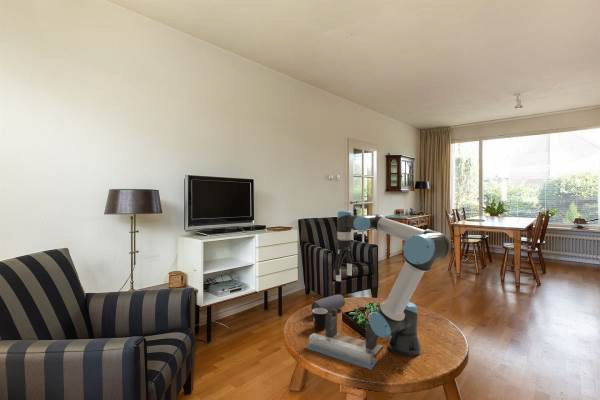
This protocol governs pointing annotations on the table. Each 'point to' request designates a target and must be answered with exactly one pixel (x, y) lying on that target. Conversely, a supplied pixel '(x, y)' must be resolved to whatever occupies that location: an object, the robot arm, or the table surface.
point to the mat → (342, 357)
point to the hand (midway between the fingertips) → (344, 278)
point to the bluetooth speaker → (329, 303)
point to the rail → (342, 348)
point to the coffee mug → (319, 319)
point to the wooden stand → (368, 344)
